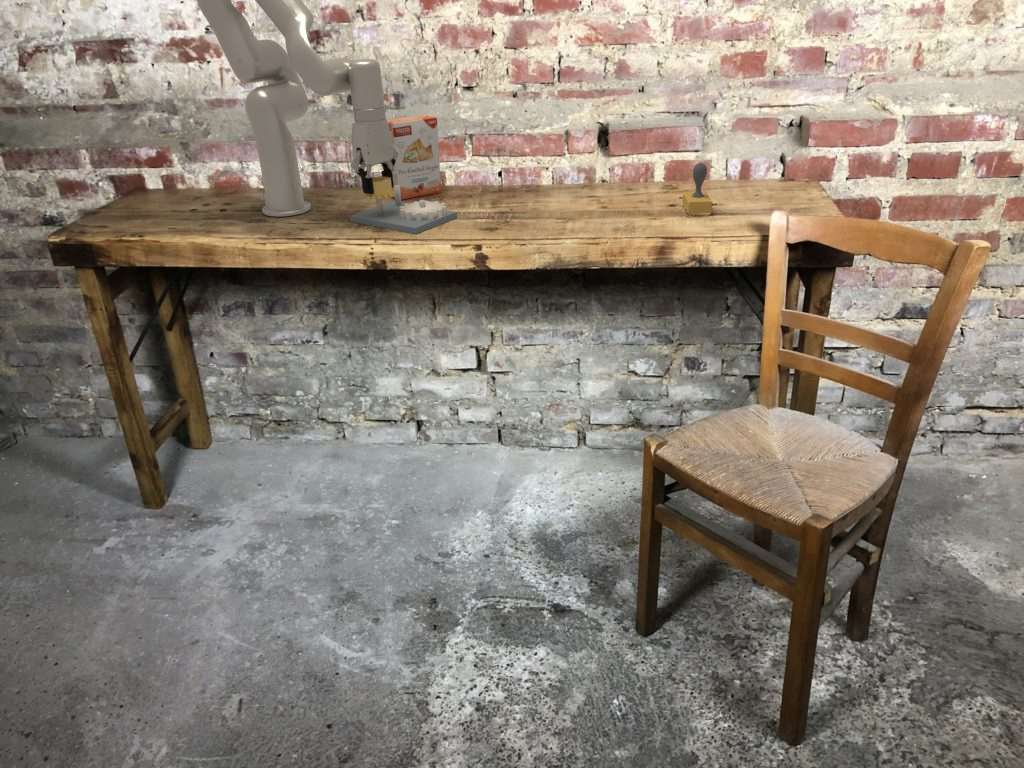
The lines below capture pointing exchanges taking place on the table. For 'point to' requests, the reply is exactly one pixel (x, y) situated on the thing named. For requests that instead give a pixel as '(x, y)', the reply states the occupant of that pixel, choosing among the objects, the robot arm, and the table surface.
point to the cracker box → (416, 155)
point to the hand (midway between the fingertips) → (378, 189)
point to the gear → (381, 188)
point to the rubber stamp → (698, 193)
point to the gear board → (396, 220)
